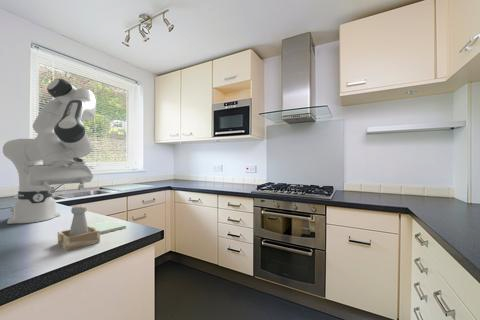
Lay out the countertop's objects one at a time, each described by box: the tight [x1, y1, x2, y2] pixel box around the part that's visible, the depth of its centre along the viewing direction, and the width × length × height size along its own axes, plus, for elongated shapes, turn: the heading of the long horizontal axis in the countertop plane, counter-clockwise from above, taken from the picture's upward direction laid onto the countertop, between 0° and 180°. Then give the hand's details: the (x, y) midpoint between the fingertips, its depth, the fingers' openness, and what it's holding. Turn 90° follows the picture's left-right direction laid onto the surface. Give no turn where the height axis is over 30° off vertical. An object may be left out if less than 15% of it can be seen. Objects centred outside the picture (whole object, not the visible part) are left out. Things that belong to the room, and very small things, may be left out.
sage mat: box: [87, 219, 127, 235], centre depth 92 cm, size 14×12×1 cm
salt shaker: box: [69, 205, 89, 237], centre depth 76 cm, size 6×6×13 cm
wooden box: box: [57, 226, 101, 252], centre depth 76 cm, size 10×10×4 cm
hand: (67, 190), depth 83 cm, fingers open, 8 cm apart
